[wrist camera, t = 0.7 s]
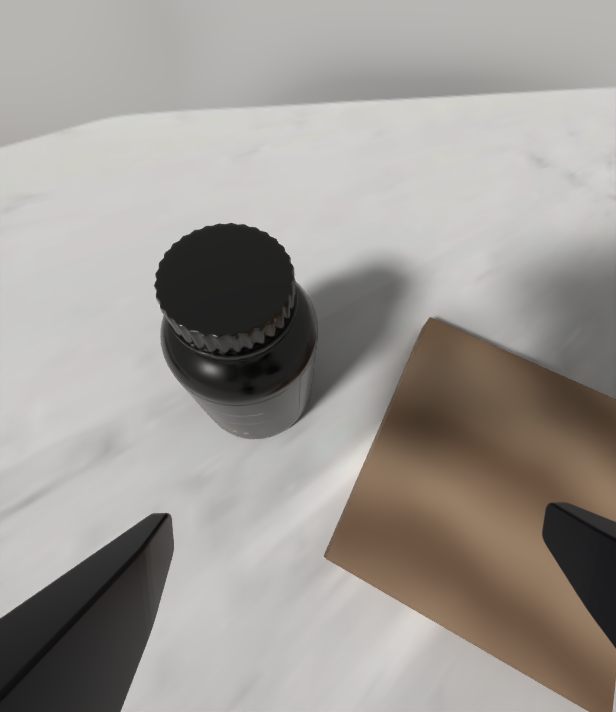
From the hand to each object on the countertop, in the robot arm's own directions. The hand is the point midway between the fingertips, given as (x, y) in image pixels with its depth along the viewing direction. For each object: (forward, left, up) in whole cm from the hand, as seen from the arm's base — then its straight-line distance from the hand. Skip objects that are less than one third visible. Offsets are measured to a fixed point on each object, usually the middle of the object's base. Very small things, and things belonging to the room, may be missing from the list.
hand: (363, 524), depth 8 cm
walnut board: (+7, -8, -13) cm, 16 cm away
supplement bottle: (+5, +7, -13) cm, 16 cm away
